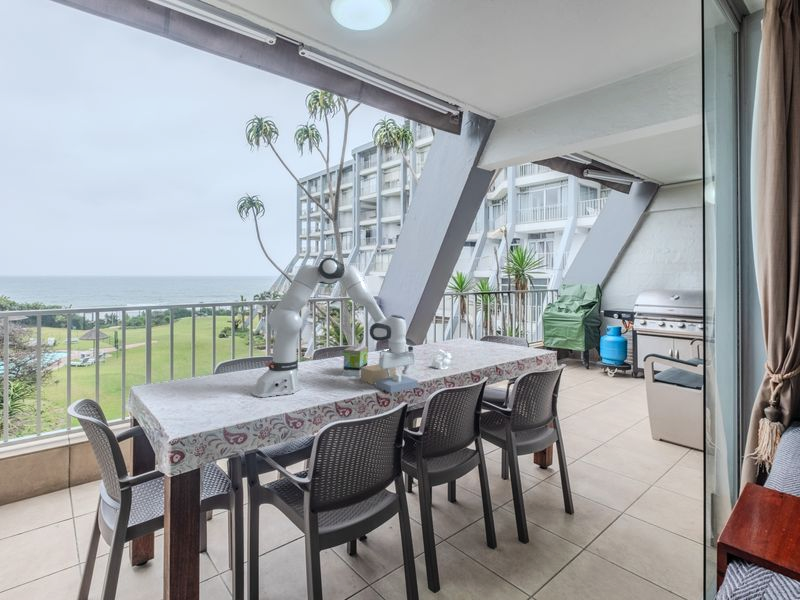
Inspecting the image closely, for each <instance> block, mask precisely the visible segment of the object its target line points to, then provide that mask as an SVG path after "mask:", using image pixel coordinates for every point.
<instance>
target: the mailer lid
mask: <svg viewBox="0 0 800 600" xmlns="http://www.w3.org/2000/svg"><path fill="white" fill-rule="evenodd" d="M377 387H378V388H377ZM375 388H377V389H379V388H381V389H380V390H382V389H383V390H382V391H384V390H385V391H384V392H387V393H390V394H393V393H399V392H403V391H408V390H413V389H417V388H419V380H418V379H414V378H412V377H409V376H405V375H404V374H402V375H401V374H398V373H394V374H393V377H391V378H385V379H380V380H376V384H375Z"/></svg>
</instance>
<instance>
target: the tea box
mask: <svg viewBox="0 0 800 600" xmlns="http://www.w3.org/2000/svg"><path fill="white" fill-rule="evenodd" d="M368 348H369V347H368V346H362V345H351V346H349V347H346V348H345V349H343V373H342V374H343V376H347V377H361V367H364V366H368V354H369V350H368Z"/></svg>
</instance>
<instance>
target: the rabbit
mask: <svg viewBox="0 0 800 600" xmlns="http://www.w3.org/2000/svg"><path fill="white" fill-rule="evenodd" d="M438 353H441V354H443V355H444V356H442V355H435V356H434V358H433V359H432V362H431V366H432V367H433V368H435V369H436V368H439V369H438V370H441V369H443V370H448V369H447V368H449V367H448V366H449V364H451V360H452V354H451V353H449V352H447V351H444V350H442V349H439V350H438Z"/></svg>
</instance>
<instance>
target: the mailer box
mask: <svg viewBox="0 0 800 600" xmlns="http://www.w3.org/2000/svg"><path fill="white" fill-rule="evenodd" d="M396 369H397V367H393V368H390V370H389V372H390V373H392V376H391V377H393V374H394V373H396V371H397V370H396ZM396 374H397V373H396ZM391 377H387V372H386V370H385V369H382V368H380V367H379V363H378V364H372V365H367V366H364V367H361V375H360V381H362V380H363V381H362V382H366V383H367V382H368V383H367V384H369V383H371V384H370V385H376V384H375V383H376V380H380V379H385V378H391Z"/></svg>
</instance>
